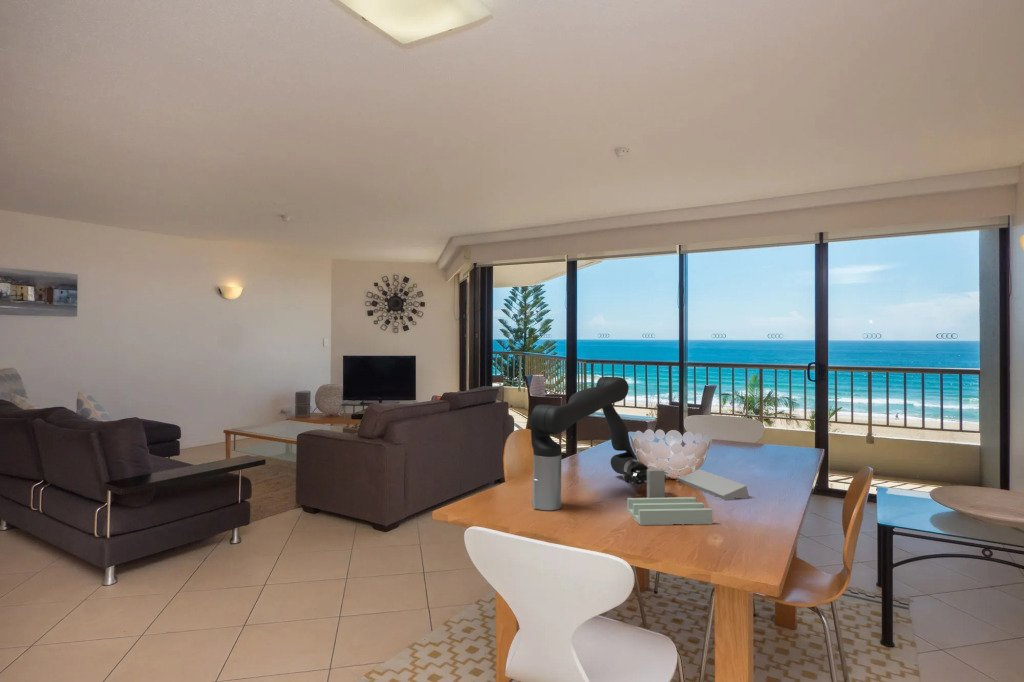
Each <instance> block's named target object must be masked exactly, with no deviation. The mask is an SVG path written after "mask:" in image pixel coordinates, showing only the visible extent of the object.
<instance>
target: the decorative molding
mask: <svg viewBox="0 0 1024 682" xmlns="http://www.w3.org/2000/svg"><path fill="white" fill-rule="evenodd" d="M697 469H698V470H696V471H694V472H693V473H690V474H687V475H685V476H681V477H676V479H677V480H678V481H680V482H679V483H681V482H682V483H681V484H683V483H684V484H683V485H686V484H687V485H686V486H688V485H689V487H691V488H693V487H694V489H696V488H697V489H696V490H698V489H699V490H698V491H701V490H702V491H701V492H703V491H704V492H703V493H706V494H708V493H709V494H708V495H711V496H713V495H714V496H713V497H716V498H718V497H719V499H720V498H721V500H723V499H724V501H733V500H732V499H734V500H735V499H736V500H737V499H742V498H745V499H749V497H750V495H749V492H748V491H749V490H748V486H747V485H746V484H742V483H740V482H736V481H734V480H731V479H728V478H725V477H723V476H720V475H716V474H714V473H711V472H708V471H705V470H703V469H699V468H697ZM678 481H677V482H678Z"/></svg>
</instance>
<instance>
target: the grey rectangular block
mask: <svg viewBox="0 0 1024 682" xmlns="http://www.w3.org/2000/svg"><path fill="white" fill-rule="evenodd" d="M665 475H666V471H665V470H664V469H663V468H648V469H647V482H646V498H666V495H665V494H666V493H665V489H666V488H665V487H666V486H665V484H666V482H665Z"/></svg>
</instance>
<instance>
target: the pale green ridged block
mask: <svg viewBox="0 0 1024 682" xmlns="http://www.w3.org/2000/svg"><path fill="white" fill-rule="evenodd" d="M626 500H627V503H626V504H627V505H626V506H627V507H626V512H627V511H628V512H629V513H630V514H631V515H632V516H633V517H634V518H633V517H632V516H631V515H630V514H629V513H628V512H627V513H628V514H629V515H630V516H631V517H632V518H633V519H634V520H635V521H636V523H637V522H638V523H639V524H640V525H639V524H638V523H637V524H638V525H639V526H674V525H673V524H682V526H684V524H693V525H713V509H712V508H710V507H709V508H706V507H705V504H704V503H703V502H697V498H696V497H695V496H694V497H693V496H690V497H689V496H687V497H684V496H681V497H676V496H675V497H665V498H647V497H627V499H626Z"/></svg>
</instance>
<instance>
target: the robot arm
mask: <svg viewBox="0 0 1024 682" xmlns="http://www.w3.org/2000/svg"><path fill="white" fill-rule="evenodd" d="M595 385H596V386H593V387H588V388H584V389H581V390H579V391H577V392H575V393H572V394H571V396H570V397H569V399H568V402H567V403H566V404H564V405H549V404H537V405H535V407H534V408H533V409H532V411H531V415H530V437H531V438H530V439H531V440H530V443H531V447H532V449H533V451H532V452H533V457H532V458H533V459H532V461H533V463H532V464H533V465H532V467H533V472H532V489H531V490H532V493H531V496H532V500H531V501H532V504H531V505H532V507H533V509H534V510H541V511H556V510H559V509H561V508H562V446H561V445H560V444H559V443H558V442H556V441H555V440H554V439H553V438H552V437H551V435H560V434H562V433H563V432H565V431H566V430H567V429H569V428H570V427H571V426H572V425H574V424H575V423H577V422H579V421H582V419H585V418H586V417H589V416H591V415H592V414H594V413H597V411H600V410H602V412H603V416H604V418H605V420H606V423H607V426H608V427H607V428H608V431H609V435H610V442H611V446H612V449H614V450H615V451H618V452H619V451H620V452H622V453H618V454H614V455H613V456H611V459H610V467H611V468H612V470H613V471H614V472H615V473H617V474H619V475H622V480H623V481H624V482H625V483H626V484H629V483H630V482H631V483H632V484H634V485H635V486H639V485H644V484H647V469H649V467H648V466H647V465H646V464H645V463H643V462H641V461H640V460H638V458H637V455H636V454H635V451H634V450H633V448H632V444H631V442H630V436H629V431H628V428H627V425H626V423H625V421H624V419H623V418H622V417H621V416H620V415H619V413H618V412H617V411H616V409H615V407H614V405H613V404H615V403H617V402H621V401H623V400H624V399H625V398H626V397H627V395H628V393H629V389H630V388H629V386H630V385H629V384H628V381H627V380H626V379H625V378H624V377H620V376H601V377H599V378H598V380H597V382H596V384H595ZM623 451H624V452H623ZM666 478H667V474H665V483H666V482H667V481H666V480H667V479H666Z"/></svg>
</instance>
